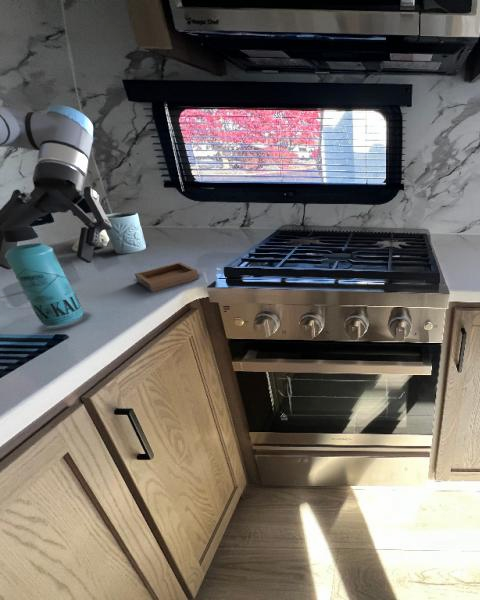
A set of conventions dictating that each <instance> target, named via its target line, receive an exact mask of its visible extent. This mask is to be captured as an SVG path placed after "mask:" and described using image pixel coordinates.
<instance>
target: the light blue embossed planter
mask: <svg viewBox="0 0 480 600" xmlns="http://www.w3.org/2000/svg"><path fill="white" fill-rule="evenodd" d="M106 216H107V218H108V220H109V222H110V223H111V225H112V229H110V230H107V229H105V231H106V233H107V235H108V237H109V241H110V243H111V245H112V248H113V250H114V252H115V253H116V254H118V255H124V254H125V255H126V254H133V253H138V252H142V251H144V250H145V249H147V245H146V241H145V237H144V233H143V229H142V226H141V222H140V218H139V214H138V213H137V212H131V211H128V212H127V211H125V212H114V213H108V214H106Z"/></svg>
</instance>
